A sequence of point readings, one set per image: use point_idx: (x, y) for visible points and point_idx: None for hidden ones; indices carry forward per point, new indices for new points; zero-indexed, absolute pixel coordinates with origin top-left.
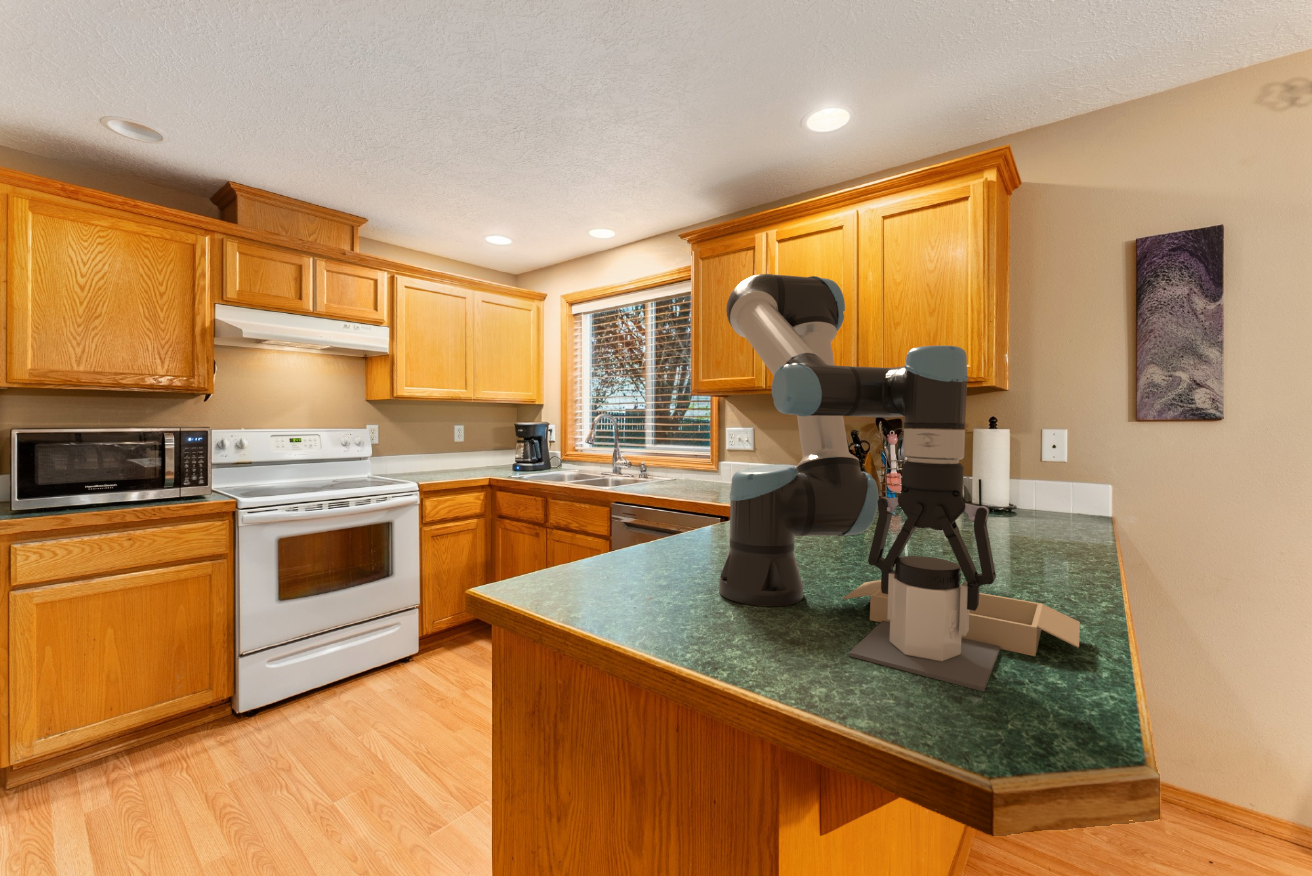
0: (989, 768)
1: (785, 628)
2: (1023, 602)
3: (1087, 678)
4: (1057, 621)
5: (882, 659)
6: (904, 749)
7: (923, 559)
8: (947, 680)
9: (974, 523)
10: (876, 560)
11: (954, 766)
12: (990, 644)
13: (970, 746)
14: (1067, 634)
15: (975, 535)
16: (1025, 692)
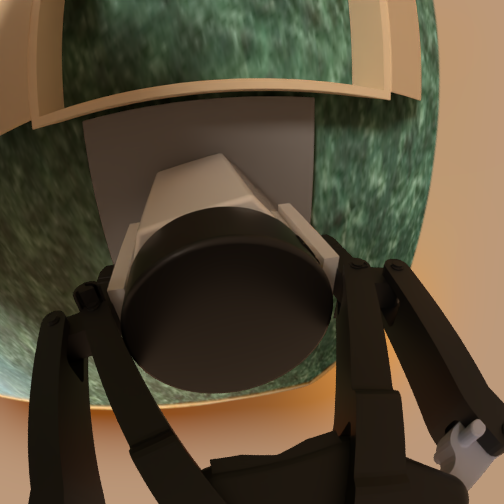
0: (309, 376)
1: (17, 281)
2: None
3: (406, 145)
4: (403, 16)
5: None
6: (259, 394)
7: (203, 309)
8: None
9: (436, 440)
10: (86, 362)
11: (290, 387)
12: (299, 100)
13: (297, 367)
14: (413, 63)
15: (420, 409)
16: (344, 245)
